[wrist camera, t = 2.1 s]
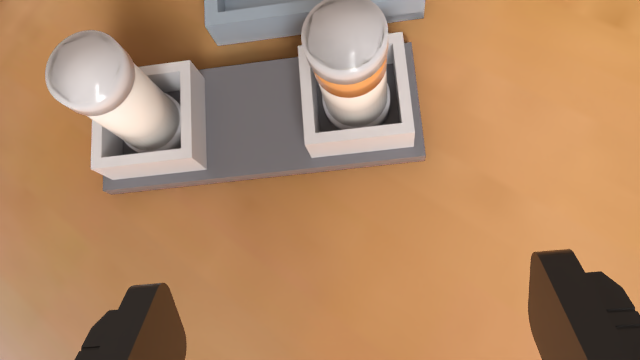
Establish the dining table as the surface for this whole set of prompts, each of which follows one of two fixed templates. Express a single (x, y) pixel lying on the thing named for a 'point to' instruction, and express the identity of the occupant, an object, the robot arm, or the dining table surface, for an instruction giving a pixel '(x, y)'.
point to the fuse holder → (261, 126)
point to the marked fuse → (349, 61)
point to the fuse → (113, 92)
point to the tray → (281, 17)
